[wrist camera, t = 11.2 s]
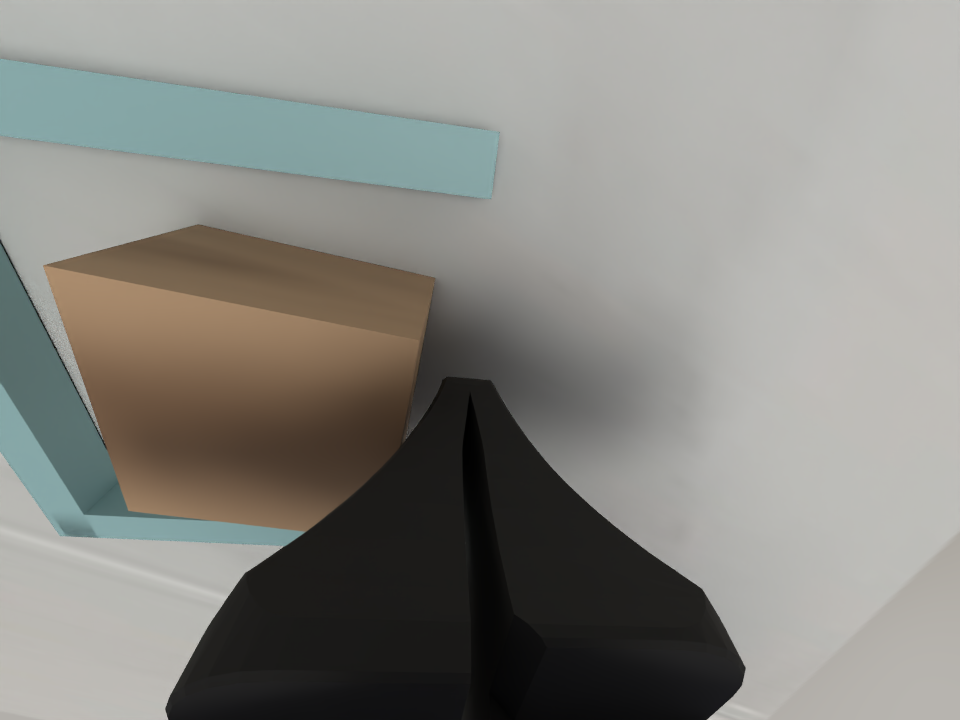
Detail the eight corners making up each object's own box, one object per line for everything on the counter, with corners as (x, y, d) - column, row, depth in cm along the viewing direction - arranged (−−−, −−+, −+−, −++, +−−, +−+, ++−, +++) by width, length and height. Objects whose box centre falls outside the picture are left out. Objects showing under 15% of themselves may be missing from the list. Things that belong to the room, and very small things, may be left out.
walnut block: (405, 436, 13) (383, 540, 9) (226, 407, 12) (128, 510, 9) (435, 275, 10) (419, 340, 7) (202, 223, 9) (43, 265, 6)
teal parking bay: (448, 517, 15) (446, 552, 13) (98, 499, 14) (60, 535, 12) (494, 135, 8) (499, 131, 7) (-168, 39, 7) (-311, 13, 6)
